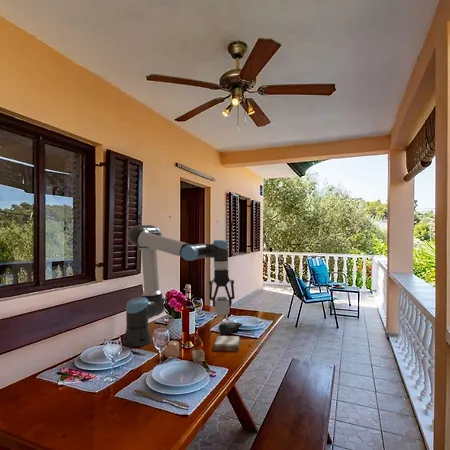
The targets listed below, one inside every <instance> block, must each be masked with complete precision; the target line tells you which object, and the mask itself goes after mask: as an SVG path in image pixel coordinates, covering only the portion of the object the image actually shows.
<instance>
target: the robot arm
mask: <svg viewBox="0 0 450 450" xmlns="http://www.w3.org/2000/svg"><path fill="white" fill-rule="evenodd" d="M127 239H128V242H129V243H130V244H132V245H133V246H136V247H138V249H139V250H140V251H141V260H142V261H141V262H142V274H143V277H142V278H143V288H144V289H143V293H142V294H141V296H139V297H134V298H131V299H130V300H128V301H127V302H126V307H125V311H126V315H125V316H126V318H125V319H126V321H125V322H126V326H125V327H126V329H125V333H124V335H123V340H122V345H124V347H125V346H126V347H129V348H136V347H137V348H139V347H144V346H146V345H149V344H150V343H151V342H152V340H153V339H152V334H151V332H150V328H149V319H152V318H154V317H157V316H159V315H161V314H162V313H164V312H165V310H166V308H164V305H163V303H164V301H165V299H166V297H165V296H164V295H163V292H162V291H161V290H160V286H159V285H160V283H159V281H160V280H159V270H158V255H157V254H158V253H157V251H159V252H164V253H167V254H171V255H173V256H177V257H181V258H182V259H183V260H184V261H188V262H189V261H191V262H192V261H195V260H198V259H199V260H200V259H207V258H209V259H213V267H214V268H213V270H214V273H213V276H214V277H213V279H211V280H210V279H209V280H208V284H209V297H208V298H209V300H210V301H212V306H213V307H214V310H215V311H214V313H215V314H217V308H216V298H217V295H218V290H219V288H221V287H223V288H224V289H225V292H226V295H227V299H228V314H230V307H232V300H234V299H236V298H235V287H234V286H235V285H234V284H235V280H234V279H230V277H229V269H228V268H229V256H228V255H229V246H228V240H225V239H217V240H213V243H196V244H191V243H187V242H184V241H180V240H176V239H172V238H169V237H165V236H163V235H162V232H161V229H160V228H159V227H157V226H155V225H152V224H147V225H146V224H145V225H139V224H137V225H134V226H132V227H131V228H130V229H129V230H128V232H127ZM228 283H229V284H230V290H231V293H230V291H229V288H228ZM213 284H215V285H216V286H215V290H214V292H213Z"/></svg>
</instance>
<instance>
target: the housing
mask: <svg viewBox="0 0 450 450" xmlns="http://www.w3.org/2000/svg"><path fill="white" fill-rule="evenodd" d="M228 299H229V298H228V297H226V296H216V298H215V300H216V308H217V313H216V316H228V315H229V313H228Z"/></svg>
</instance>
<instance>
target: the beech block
mask: <svg viewBox="0 0 450 450" xmlns="http://www.w3.org/2000/svg"><path fill="white" fill-rule="evenodd" d="M191 359H192V361H193V363H194V362H197V363H201V362H200V361H201V360H205V359H206V358H205V351H204V350H203V349H202V348H201V349H194V350H191Z"/></svg>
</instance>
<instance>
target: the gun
mask: <svg viewBox="0 0 450 450" xmlns="http://www.w3.org/2000/svg"><path fill="white" fill-rule="evenodd" d="M241 325H242V326H243V323H240V322H231V323H221V324H219V325H218V330H219V336H228V335H229V334H232V333H233V332H234V331H235V332H237V331H239V330H240V329H239V327H240V326H241ZM238 329H239V330H238Z"/></svg>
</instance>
